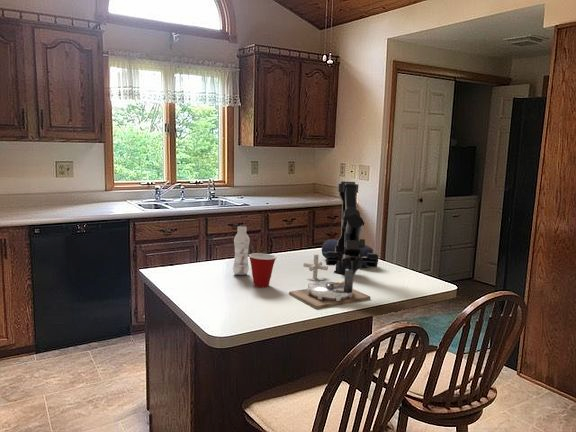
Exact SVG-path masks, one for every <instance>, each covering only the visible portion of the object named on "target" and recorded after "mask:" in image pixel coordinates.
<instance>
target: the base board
mask: <svg viewBox="0 0 576 432" xmlns="http://www.w3.org/2000/svg"><path fill="white" fill-rule="evenodd" d="M340 283H341V284H344V281H341V282H340ZM352 292H353V293H352V298H348V299H344V300H341V301H336V300H323V299H322V300H320V299H318V298H315V297H313V296H311V295H308V294H307V288H304V289H297V290H291V291H289V292H288V295H289V296H290V297H291V296H292V297H293V298H295V299H297V300H299V301H301V302H302V303H304V304H306V305H308V306H309V305H310V306H309V307H312V309H315V310H317V309H318V310H319V309H323V308H328V307H335V306H340V305H345V304H346V305H347V304H352V303H358V302H361V301H362V302H363V301H367V300H368V301H369V300H371V296H370V295H369V294H368V295H367V294H365V293H364V292H361V291H359V290H356V289H354V288H353V289H352Z"/></svg>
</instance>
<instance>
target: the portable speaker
mask: <svg viewBox="0 0 576 432" xmlns="http://www.w3.org/2000/svg"><path fill="white" fill-rule="evenodd" d="M338 240H339V239H332V238H331V239H328V240H325V241H324V242H323V243H322V245H321V254H322V256H323V257H324V258H325V259H326V253H327V252H328V251H330V252H335V247H336V245H337V241H338ZM367 253H374V249H373V248H372V247H370V246H369V245H366V244H365V249H360V256H361V257H367ZM352 263H353V262H352ZM365 267H368V266H367V265H366V262H362V265H361V268H365Z"/></svg>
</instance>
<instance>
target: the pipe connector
mask: <svg viewBox="0 0 576 432" xmlns="http://www.w3.org/2000/svg"><path fill="white" fill-rule="evenodd" d="M303 268H308V270H309V271H310V272H312V279H313V280H317V279H318V271H319V270H320V271H321V270H323V271H328V269H329V265H323V262H322V261H319V254H318V253H314V254H313V263H311V262H303Z"/></svg>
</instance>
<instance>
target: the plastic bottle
mask: <svg viewBox="0 0 576 432" xmlns="http://www.w3.org/2000/svg"><path fill="white" fill-rule="evenodd" d="M247 229H248V228H247V226H246V225H239V226H237V230H236V231H237V232H236V234H235V236H234V238H233V242H234V243H233V245H234V260H233V266H232V273H233V274H234V275H235V276H236V275H237V276H245V275H247V274H248V273H249V270H250V269H249V267H250V266H249V258H248V257H249V246H250V240H251V239H250V236H249V235H248V234H247V231H248V230H247Z"/></svg>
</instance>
